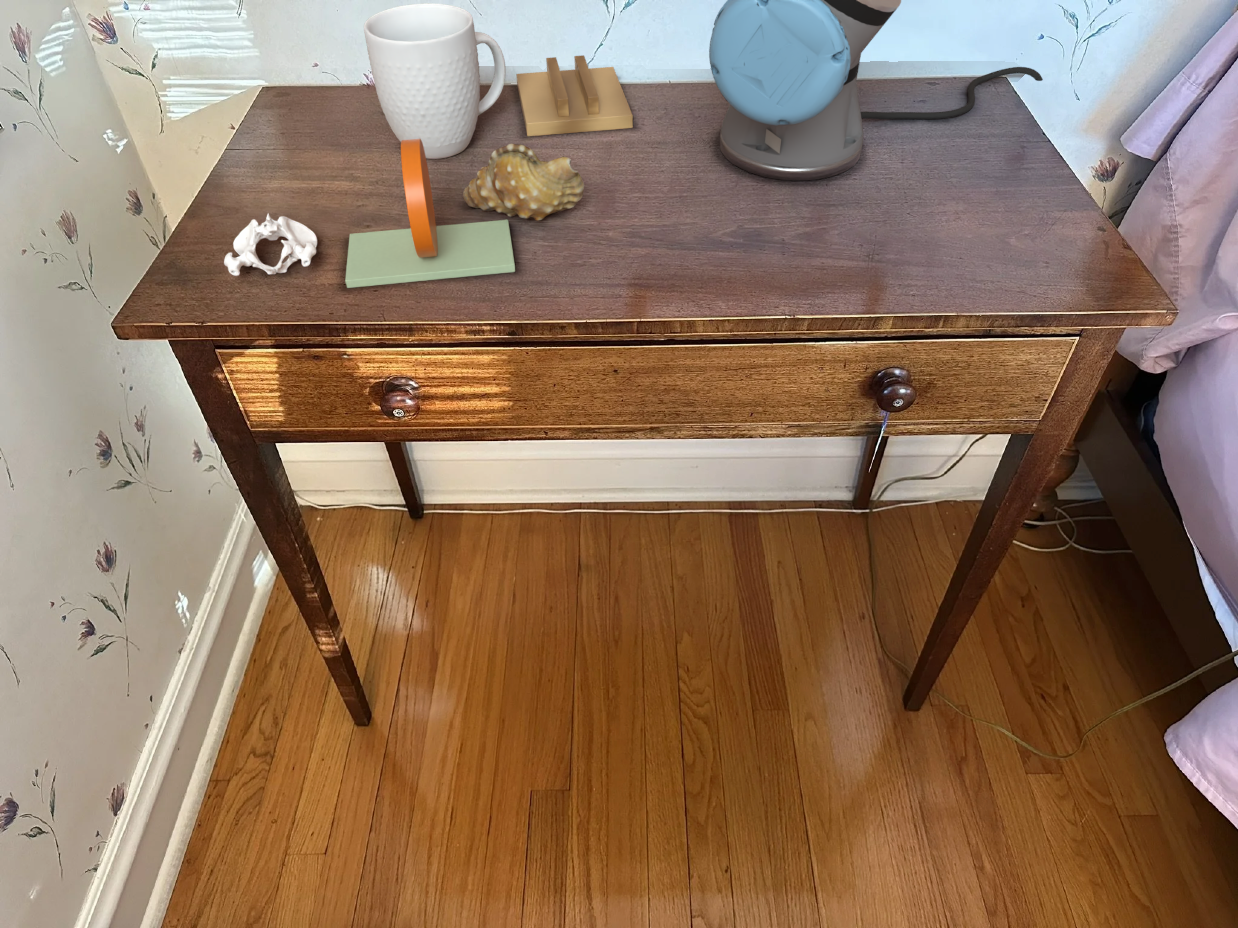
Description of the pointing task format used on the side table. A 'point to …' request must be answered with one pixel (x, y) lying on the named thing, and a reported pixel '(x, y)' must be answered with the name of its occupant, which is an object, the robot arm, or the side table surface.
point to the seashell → (524, 184)
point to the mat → (458, 256)
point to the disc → (419, 197)
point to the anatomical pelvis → (296, 247)
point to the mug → (431, 74)
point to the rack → (572, 99)
